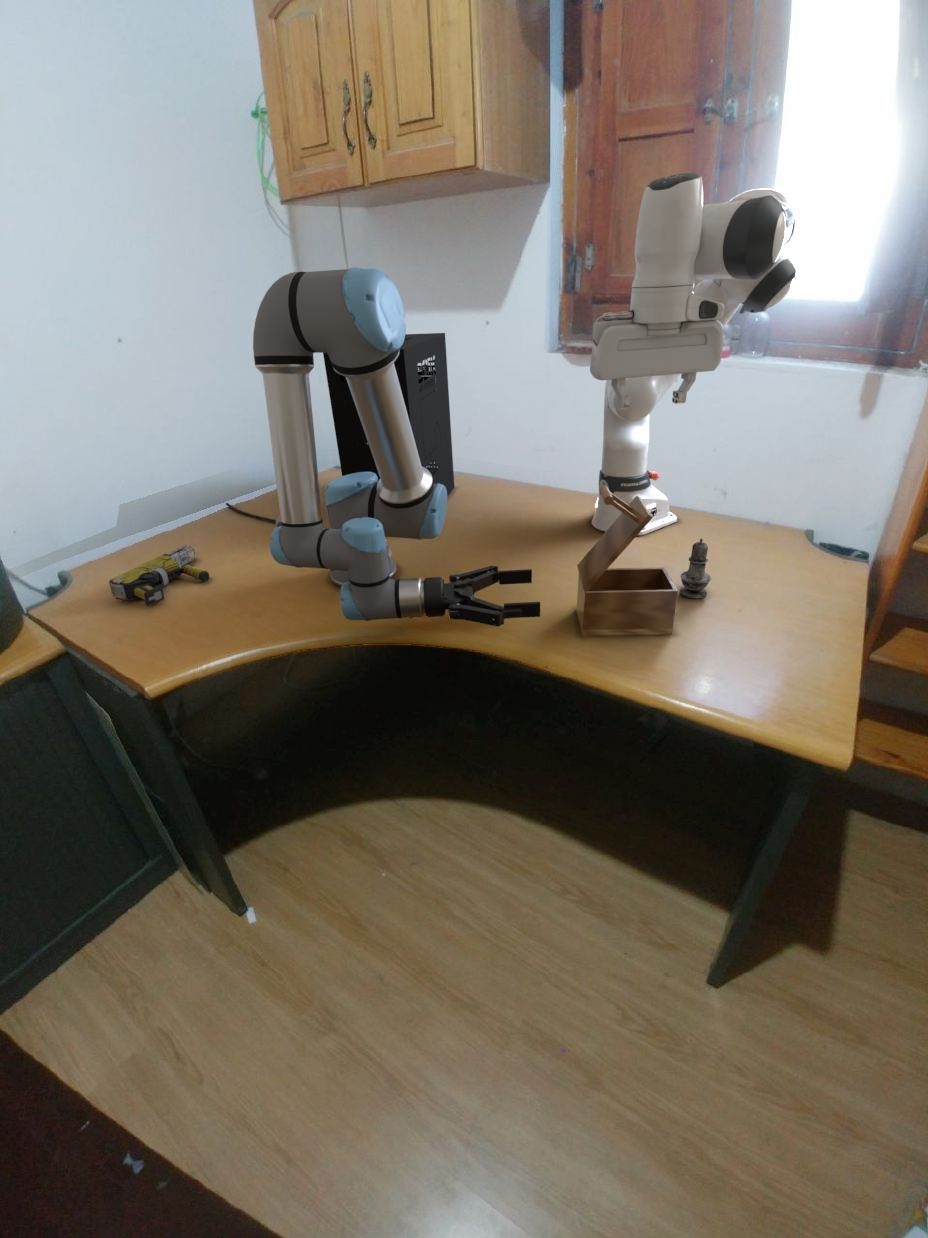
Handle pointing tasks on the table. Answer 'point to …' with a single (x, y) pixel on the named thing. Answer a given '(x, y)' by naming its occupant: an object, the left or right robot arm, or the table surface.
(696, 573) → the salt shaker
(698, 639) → the table surface
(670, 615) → the chest
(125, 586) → the toy gun
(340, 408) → the black computer tower
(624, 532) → the lid
